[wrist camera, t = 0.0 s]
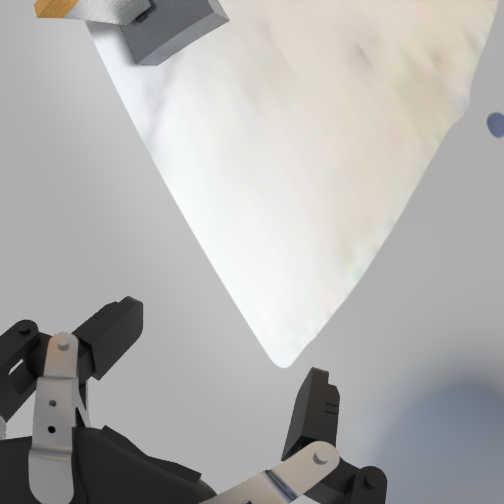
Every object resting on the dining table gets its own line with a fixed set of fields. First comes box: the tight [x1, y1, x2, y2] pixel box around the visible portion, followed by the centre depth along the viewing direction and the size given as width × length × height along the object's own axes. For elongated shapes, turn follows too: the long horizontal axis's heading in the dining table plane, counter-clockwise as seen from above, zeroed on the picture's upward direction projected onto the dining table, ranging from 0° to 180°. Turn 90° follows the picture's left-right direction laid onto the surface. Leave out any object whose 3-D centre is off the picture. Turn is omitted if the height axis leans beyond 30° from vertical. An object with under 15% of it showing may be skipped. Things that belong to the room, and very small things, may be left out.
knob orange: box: [34, 0, 151, 26], centre depth 16 cm, size 2×4×12 cm, turn 116°
